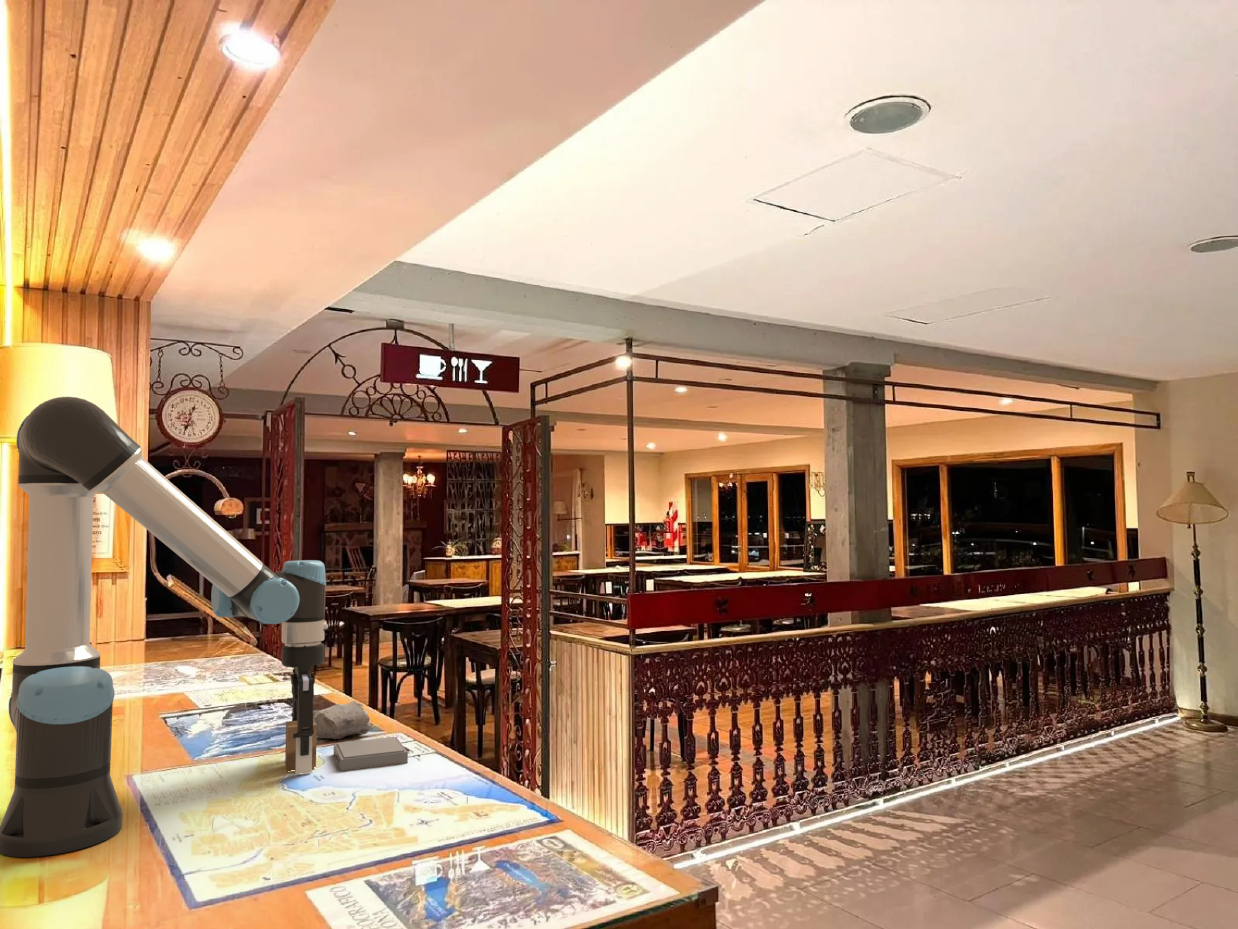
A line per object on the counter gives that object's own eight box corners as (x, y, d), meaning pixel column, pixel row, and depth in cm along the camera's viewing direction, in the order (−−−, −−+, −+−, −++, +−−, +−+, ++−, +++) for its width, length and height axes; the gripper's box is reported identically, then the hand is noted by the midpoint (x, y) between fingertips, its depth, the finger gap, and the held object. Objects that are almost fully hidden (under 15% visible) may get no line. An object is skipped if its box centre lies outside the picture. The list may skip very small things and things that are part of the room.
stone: (306, 737, 177) (307, 704, 177) (362, 729, 184) (363, 697, 184) (317, 746, 170) (318, 712, 171) (375, 737, 177) (375, 704, 178)
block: (315, 769, 155) (316, 724, 155) (286, 772, 152) (287, 727, 153) (313, 762, 159) (314, 719, 160) (285, 765, 157) (286, 721, 157)
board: (407, 763, 158) (407, 750, 158) (340, 771, 153) (341, 758, 153) (396, 747, 169) (396, 735, 169) (333, 754, 164) (333, 742, 164)
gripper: (330, 650, 149) (329, 779, 147) (318, 634, 169) (317, 748, 167) (285, 653, 146) (283, 785, 144) (278, 637, 166) (276, 752, 164)
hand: (301, 765), depth 156 cm, fingers open, 9 cm apart
